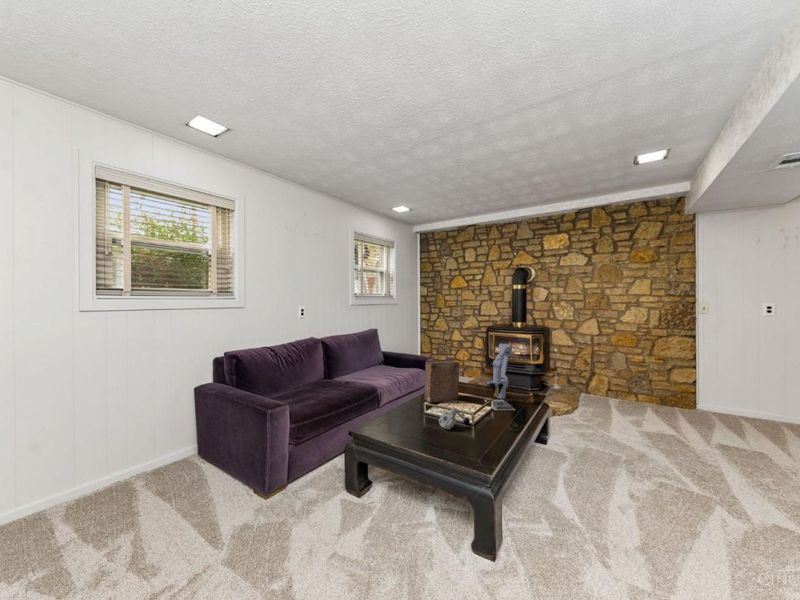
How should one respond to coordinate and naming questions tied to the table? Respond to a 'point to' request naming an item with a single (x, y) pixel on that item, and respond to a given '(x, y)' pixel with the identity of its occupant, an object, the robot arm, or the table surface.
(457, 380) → the book
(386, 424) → the table surface
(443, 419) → the mechanical valve
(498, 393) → the brass rounded knob
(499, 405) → the socket plate
